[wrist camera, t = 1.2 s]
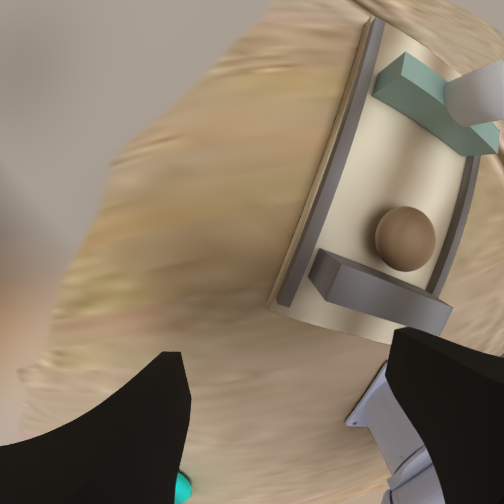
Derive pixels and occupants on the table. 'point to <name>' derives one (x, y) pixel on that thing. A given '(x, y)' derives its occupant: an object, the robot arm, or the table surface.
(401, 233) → the walnut
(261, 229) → the table surface
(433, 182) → the base
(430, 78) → the sliding jaw
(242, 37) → the table surface
